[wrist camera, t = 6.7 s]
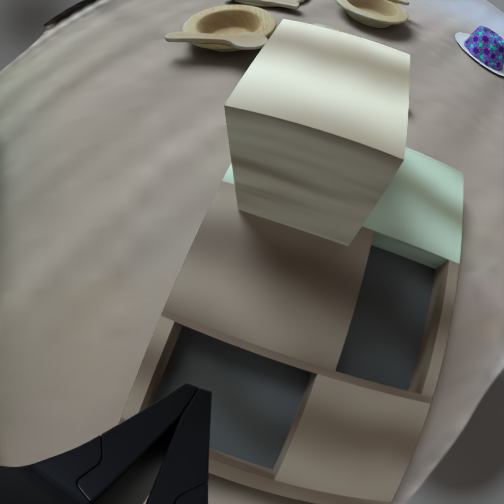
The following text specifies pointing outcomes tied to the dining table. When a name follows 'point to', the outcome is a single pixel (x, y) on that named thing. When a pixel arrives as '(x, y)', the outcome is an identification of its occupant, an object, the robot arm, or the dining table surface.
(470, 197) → the dining table surface
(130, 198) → the dining table surface
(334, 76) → the ash block
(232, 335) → the board
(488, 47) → the purple patterned hat
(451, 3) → the dining table surface
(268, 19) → the tableware set
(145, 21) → the dining table surface
